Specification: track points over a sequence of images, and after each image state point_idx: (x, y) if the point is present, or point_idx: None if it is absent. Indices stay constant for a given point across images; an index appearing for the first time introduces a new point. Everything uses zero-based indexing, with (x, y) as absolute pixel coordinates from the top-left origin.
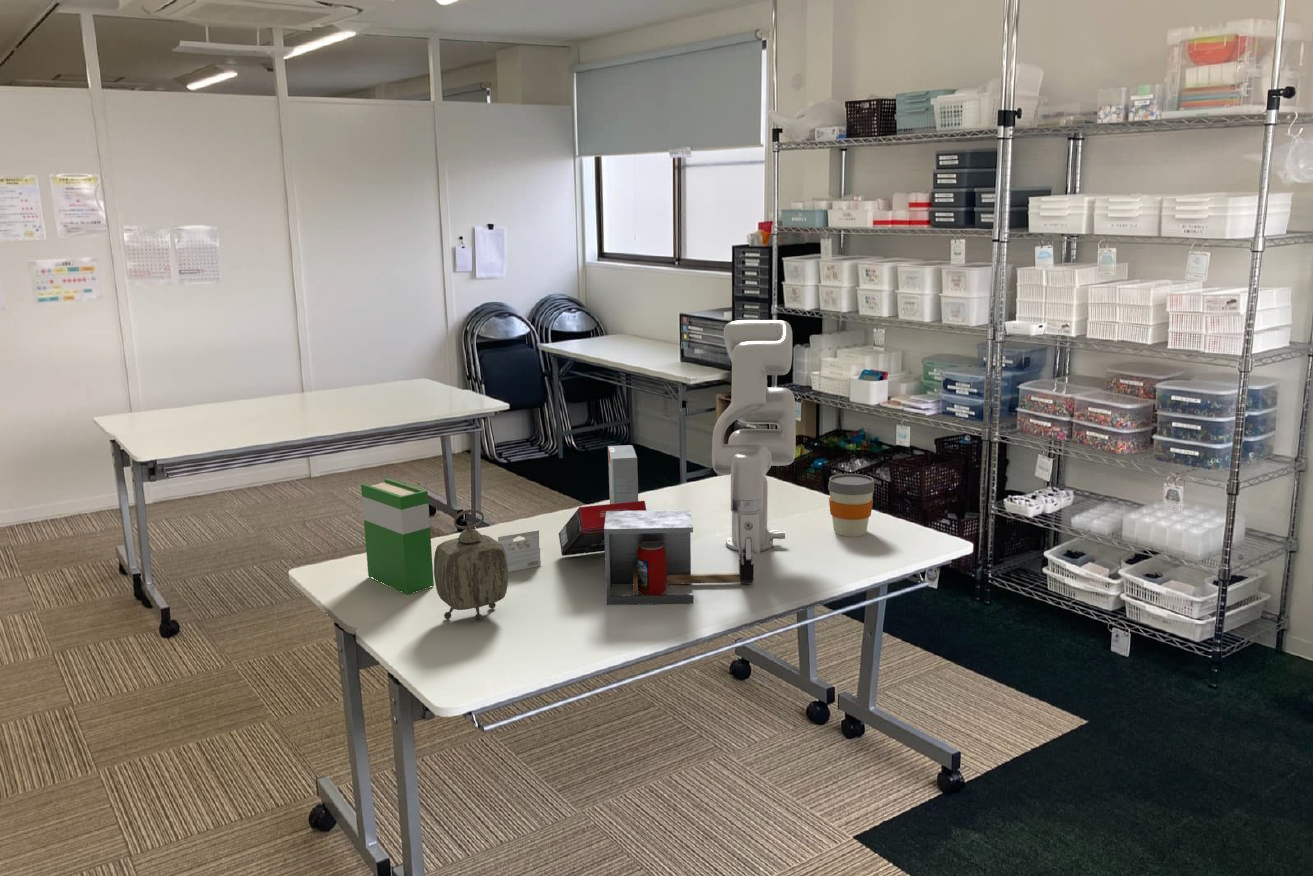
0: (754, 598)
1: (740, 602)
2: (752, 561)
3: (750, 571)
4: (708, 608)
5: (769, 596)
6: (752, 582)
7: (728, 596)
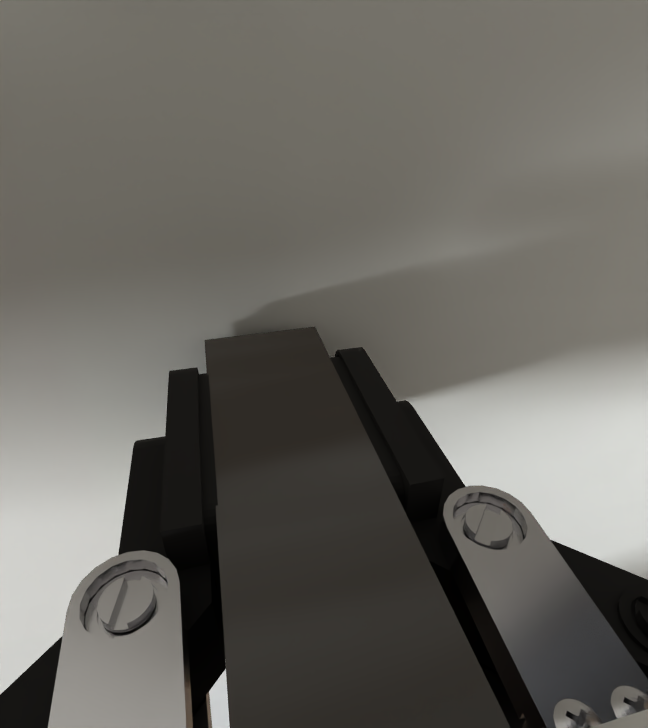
0: (610, 298)
1: (637, 390)
2: (544, 549)
3: (435, 445)
4: (640, 526)
5: (619, 157)
6: (315, 335)
7: (513, 467)
